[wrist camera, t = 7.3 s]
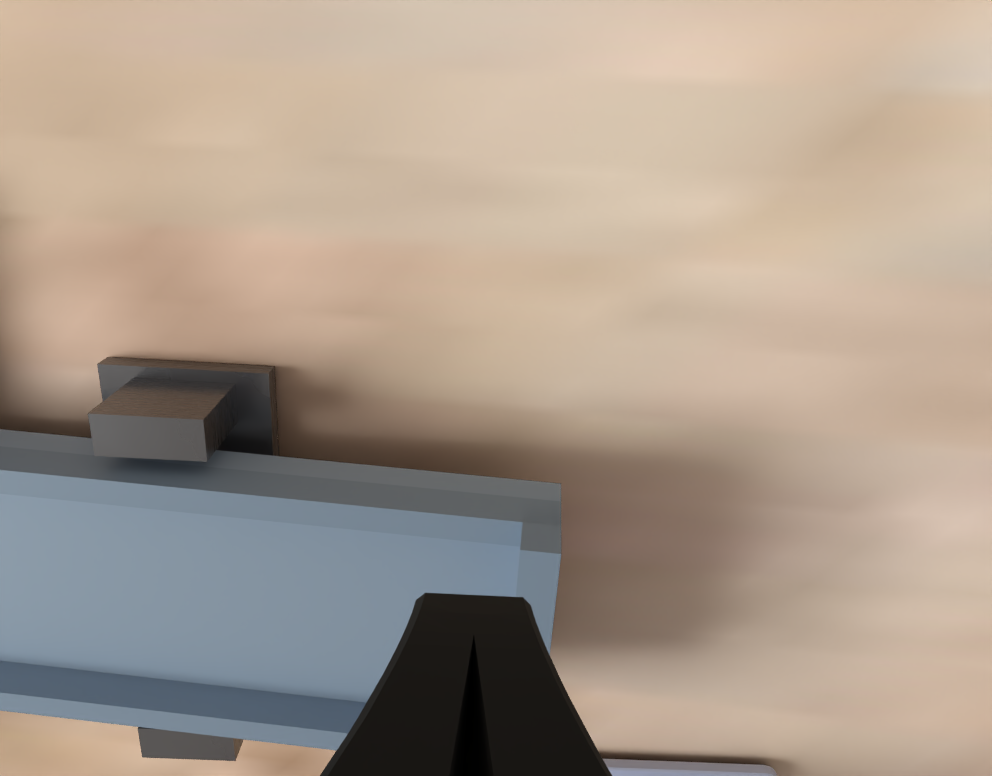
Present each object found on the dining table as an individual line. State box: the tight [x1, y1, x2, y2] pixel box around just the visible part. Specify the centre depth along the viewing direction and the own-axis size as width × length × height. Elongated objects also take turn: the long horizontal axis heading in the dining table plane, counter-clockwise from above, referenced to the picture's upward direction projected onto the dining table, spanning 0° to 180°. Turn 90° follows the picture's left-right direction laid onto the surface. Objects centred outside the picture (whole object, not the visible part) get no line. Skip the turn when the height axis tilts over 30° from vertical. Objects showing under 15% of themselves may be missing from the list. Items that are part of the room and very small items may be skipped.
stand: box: [88, 357, 279, 761], centre depth 18 cm, size 10×4×3 cm, turn 176°
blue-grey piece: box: [0, 429, 561, 750], centre depth 16 cm, size 13×18×3 cm
